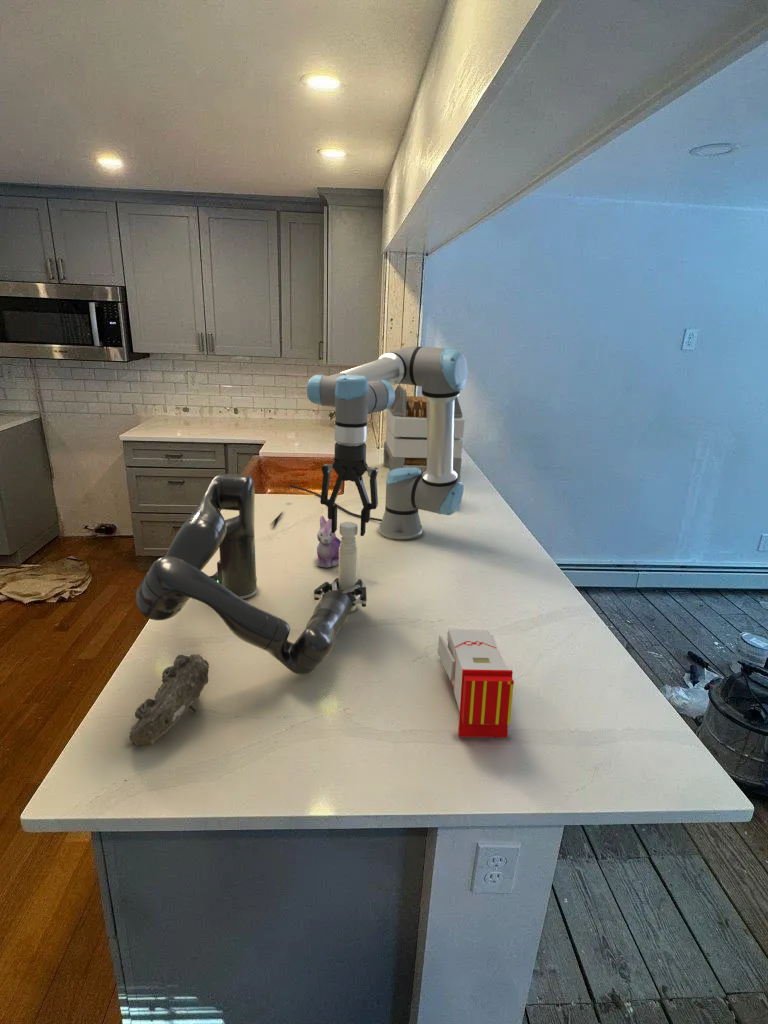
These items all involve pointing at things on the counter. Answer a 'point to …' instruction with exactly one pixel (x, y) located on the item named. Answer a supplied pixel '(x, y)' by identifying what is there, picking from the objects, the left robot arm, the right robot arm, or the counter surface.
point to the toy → (478, 682)
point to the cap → (348, 529)
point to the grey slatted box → (415, 432)
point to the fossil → (170, 698)
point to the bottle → (347, 564)
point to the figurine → (327, 545)
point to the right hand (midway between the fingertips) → (348, 532)
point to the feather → (276, 520)
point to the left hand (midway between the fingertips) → (350, 581)
